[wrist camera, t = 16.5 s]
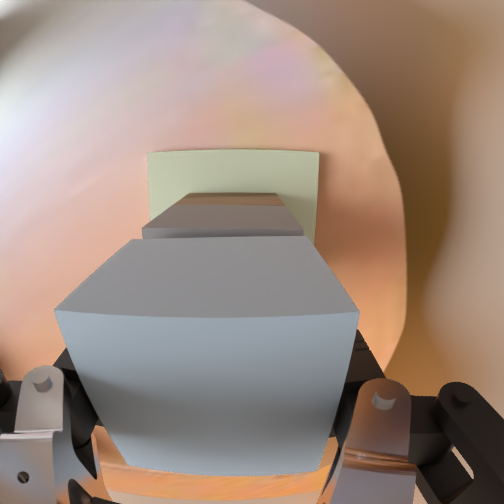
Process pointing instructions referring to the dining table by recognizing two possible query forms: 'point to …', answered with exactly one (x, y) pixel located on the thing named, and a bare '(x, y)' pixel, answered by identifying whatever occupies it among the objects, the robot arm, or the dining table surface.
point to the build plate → (237, 178)
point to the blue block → (213, 352)
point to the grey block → (222, 222)
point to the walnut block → (231, 199)
